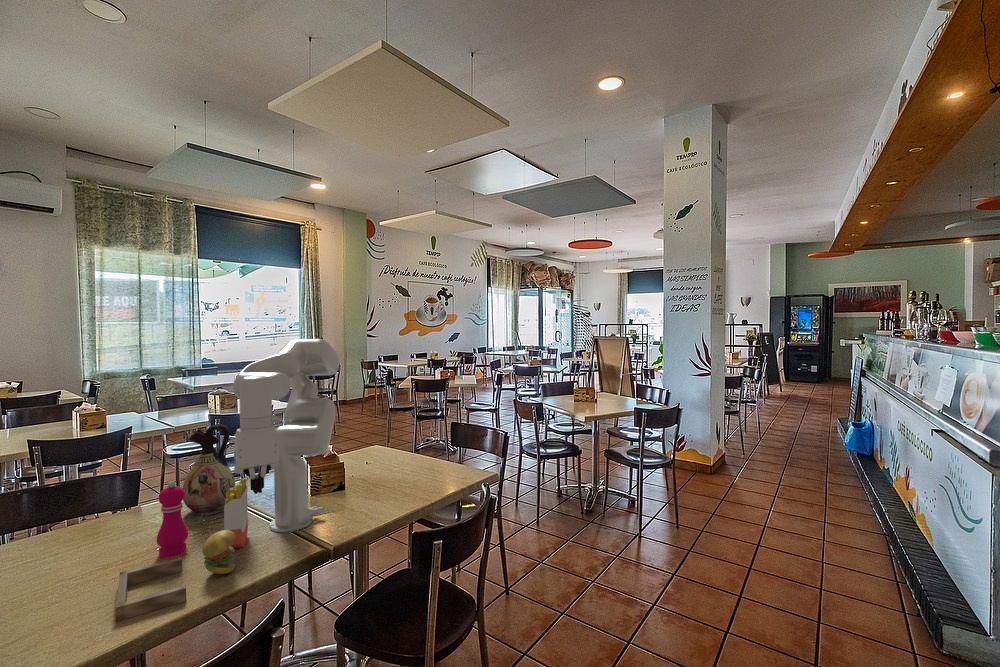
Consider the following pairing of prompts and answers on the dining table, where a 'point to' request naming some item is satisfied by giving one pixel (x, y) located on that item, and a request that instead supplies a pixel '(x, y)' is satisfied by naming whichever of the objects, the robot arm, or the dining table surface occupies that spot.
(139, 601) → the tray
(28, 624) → the dining table surface
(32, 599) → the dining table surface
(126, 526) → the dining table surface
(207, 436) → the ceramic jug
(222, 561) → the hamburger
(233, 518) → the french fries container
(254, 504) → the dining table surface
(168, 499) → the pepper mill
